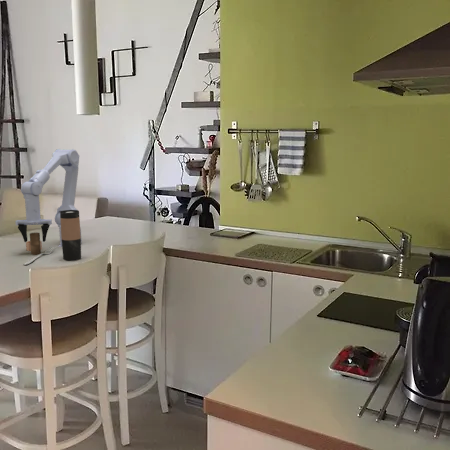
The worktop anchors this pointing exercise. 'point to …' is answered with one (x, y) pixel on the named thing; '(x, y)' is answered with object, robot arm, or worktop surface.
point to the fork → (39, 255)
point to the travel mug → (70, 235)
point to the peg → (35, 243)
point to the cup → (28, 246)
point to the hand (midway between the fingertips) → (35, 241)
